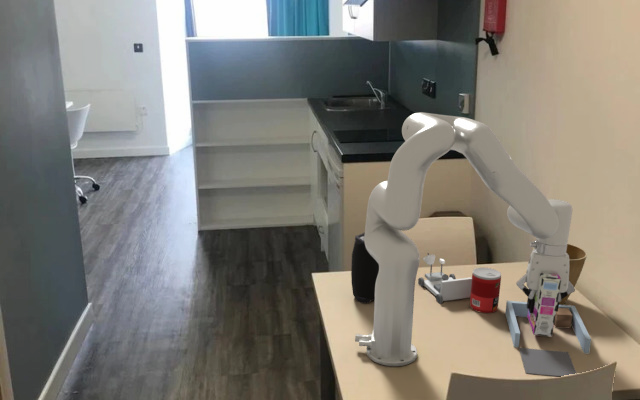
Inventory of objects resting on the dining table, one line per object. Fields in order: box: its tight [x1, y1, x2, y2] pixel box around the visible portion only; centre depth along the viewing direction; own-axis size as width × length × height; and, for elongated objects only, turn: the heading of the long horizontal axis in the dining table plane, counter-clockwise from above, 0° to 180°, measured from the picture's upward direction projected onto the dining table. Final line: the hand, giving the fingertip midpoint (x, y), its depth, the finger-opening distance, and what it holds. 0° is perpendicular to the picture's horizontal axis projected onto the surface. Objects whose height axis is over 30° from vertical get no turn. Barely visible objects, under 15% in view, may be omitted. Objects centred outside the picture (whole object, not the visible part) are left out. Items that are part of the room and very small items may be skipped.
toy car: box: [417, 252, 472, 305], centre depth 199 cm, size 18×10×12 cm
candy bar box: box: [526, 273, 561, 338], centre depth 171 cm, size 11×5×16 cm, turn 172°
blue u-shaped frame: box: [505, 300, 592, 354], centre depth 174 cm, size 18×19×4 cm
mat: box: [518, 347, 577, 377], centre depth 160 cm, size 12×12×1 cm
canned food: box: [469, 267, 502, 314], centre depth 187 cm, size 8×8×11 cm
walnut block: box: [554, 308, 572, 329], centre depth 179 cm, size 4×4×4 cm
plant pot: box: [532, 243, 588, 305], centre depth 192 cm, size 15×15×16 cm
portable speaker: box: [350, 231, 379, 304], centre depth 191 cm, size 9×9×20 cm
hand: (541, 311), depth 172 cm, fingers closed on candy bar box, 5 cm apart
